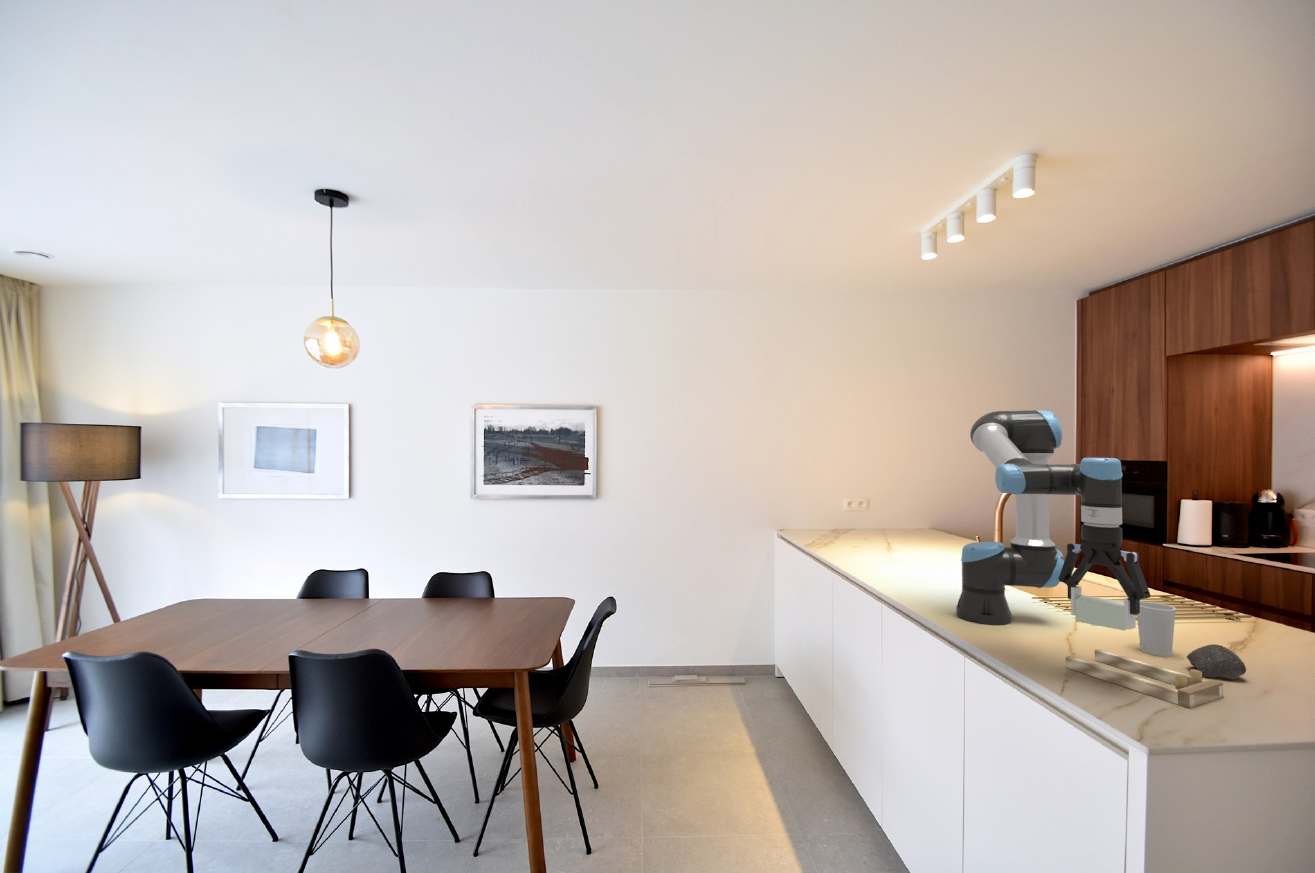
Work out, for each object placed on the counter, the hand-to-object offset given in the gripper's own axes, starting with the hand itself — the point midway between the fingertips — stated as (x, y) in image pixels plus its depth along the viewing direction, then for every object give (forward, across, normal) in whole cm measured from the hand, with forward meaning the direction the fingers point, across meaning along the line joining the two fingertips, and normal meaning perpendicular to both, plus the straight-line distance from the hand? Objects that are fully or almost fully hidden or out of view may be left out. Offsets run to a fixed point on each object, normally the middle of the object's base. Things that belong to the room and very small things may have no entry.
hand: (1102, 620), depth 132 cm
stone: (+14, +9, +28) cm, 32 cm away
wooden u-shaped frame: (+13, +4, +6) cm, 15 cm away
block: (0, 0, 0) cm, 0 cm away
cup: (+14, -5, +32) cm, 35 cm away
